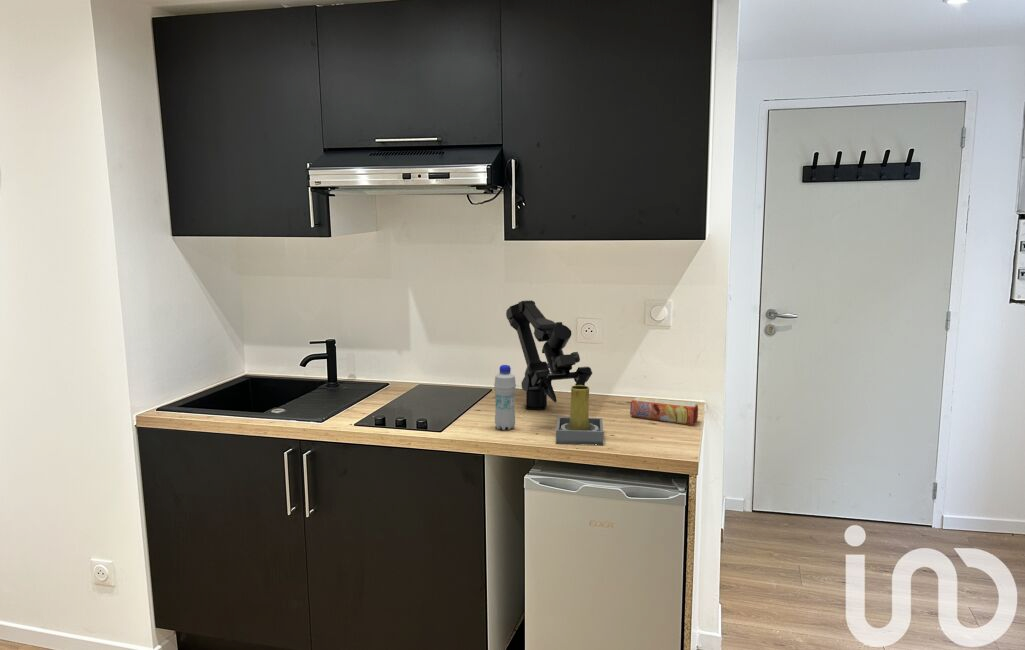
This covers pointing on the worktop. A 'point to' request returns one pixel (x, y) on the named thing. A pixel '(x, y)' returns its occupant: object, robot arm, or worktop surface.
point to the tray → (579, 433)
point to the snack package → (664, 410)
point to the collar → (591, 427)
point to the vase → (579, 408)
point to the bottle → (505, 398)
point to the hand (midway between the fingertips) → (569, 400)
